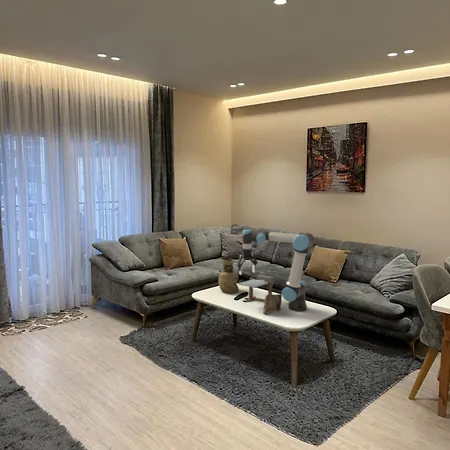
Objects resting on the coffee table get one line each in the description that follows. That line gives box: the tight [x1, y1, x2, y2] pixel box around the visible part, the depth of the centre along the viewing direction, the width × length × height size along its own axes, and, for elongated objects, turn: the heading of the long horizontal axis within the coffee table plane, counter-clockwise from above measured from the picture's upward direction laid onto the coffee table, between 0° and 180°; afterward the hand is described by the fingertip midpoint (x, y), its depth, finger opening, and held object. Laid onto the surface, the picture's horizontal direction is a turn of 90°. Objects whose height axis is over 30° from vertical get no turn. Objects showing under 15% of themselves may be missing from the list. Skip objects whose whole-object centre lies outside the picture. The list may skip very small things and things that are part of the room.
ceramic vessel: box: [218, 258, 240, 294], centre depth 374 cm, size 19×21×30 cm
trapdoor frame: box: [245, 277, 273, 303], centre depth 344 cm, size 22×12×20 cm, turn 55°
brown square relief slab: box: [263, 293, 283, 316], centre depth 318 cm, size 17×4×15 cm, turn 122°
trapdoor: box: [237, 274, 275, 289], centre depth 338 cm, size 16×33×7 cm, turn 145°
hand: (247, 273), depth 336 cm, fingers open, 13 cm apart
